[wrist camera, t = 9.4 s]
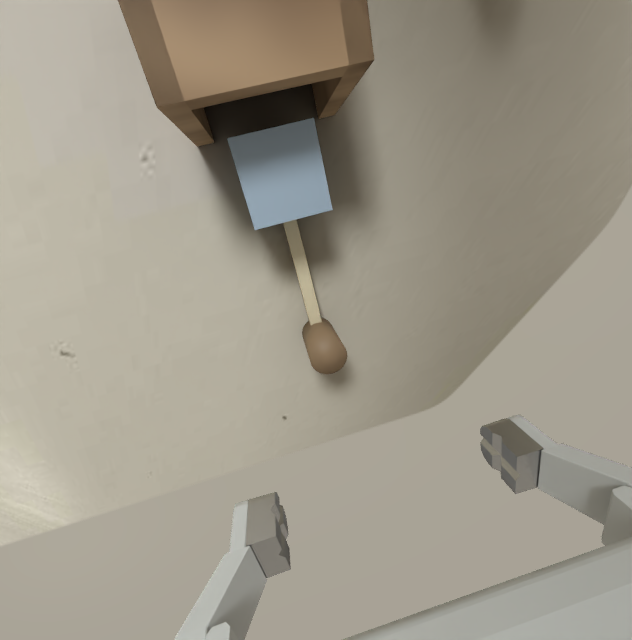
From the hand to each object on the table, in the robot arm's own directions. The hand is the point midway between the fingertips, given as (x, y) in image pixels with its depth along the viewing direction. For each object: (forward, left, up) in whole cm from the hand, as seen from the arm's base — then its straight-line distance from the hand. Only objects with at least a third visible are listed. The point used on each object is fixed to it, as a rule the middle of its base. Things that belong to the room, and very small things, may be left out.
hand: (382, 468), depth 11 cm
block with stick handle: (-6, 0, -16) cm, 17 cm away
